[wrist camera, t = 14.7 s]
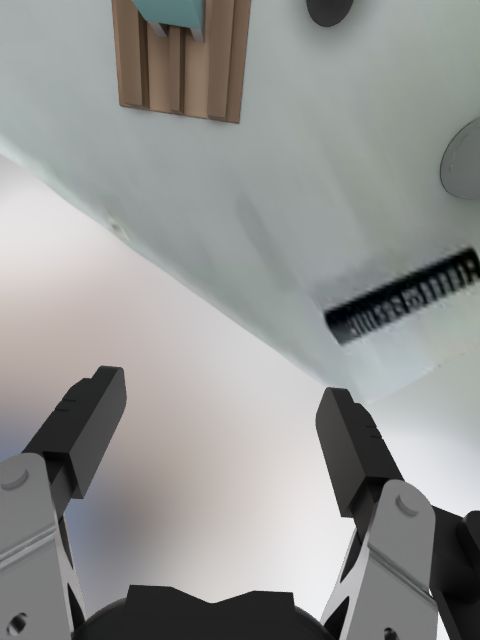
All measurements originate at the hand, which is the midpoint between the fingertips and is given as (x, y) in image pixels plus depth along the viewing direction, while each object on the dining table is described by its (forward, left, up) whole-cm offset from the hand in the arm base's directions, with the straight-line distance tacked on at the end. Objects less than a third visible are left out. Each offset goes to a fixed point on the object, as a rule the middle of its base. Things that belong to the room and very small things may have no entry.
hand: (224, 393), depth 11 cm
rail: (+8, -20, -33) cm, 39 cm away
